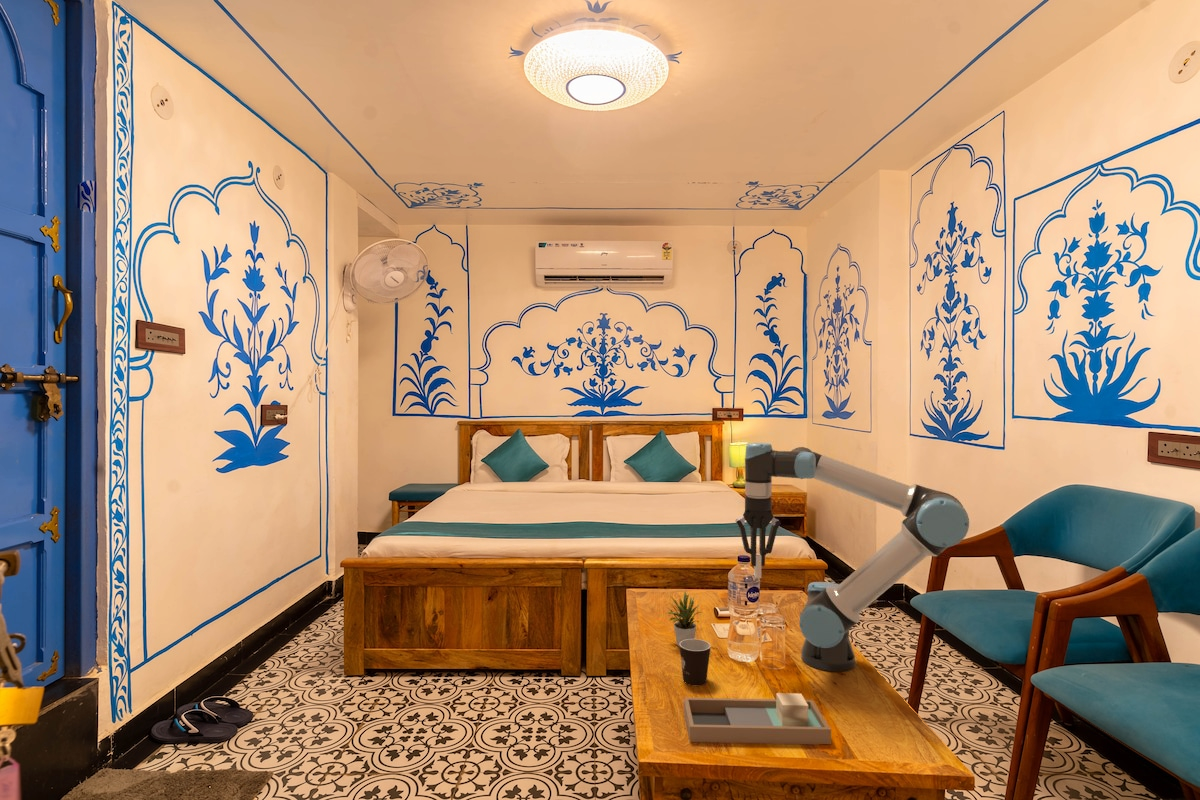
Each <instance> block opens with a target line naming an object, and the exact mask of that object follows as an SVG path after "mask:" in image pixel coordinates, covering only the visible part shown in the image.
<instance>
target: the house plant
mask: <svg viewBox="0 0 1200 800" xmlns="http://www.w3.org/2000/svg"><path fill="white" fill-rule="evenodd" d="M667 596H668V598H669V597H670V599H672V601H673V602H674V604H675V605H673V604H671V603H670V602H668V601H665V603H668V604H666V605H667V606H671V607H672V608H673V609H674V610H675V612H674V611H673V610H672V609H671V608H668V607H667V609H668V610H669V612H667V613H666V615H667V616H669V617H670V619H669V620H668V622H669V621H673V622H672V623H673V629H674V633H675V635H674V636H675V642H676V646H677V645H678V647H679V648H680V646H679V643H680V642H681V641H683V640H686V639H696V638H695V637H696V630H697V624H696V623H695V622H698V623H700V622H699V620H694V619H695V616H696V615H698V614H701V613H702V614H703V613H704V612H703V611H699V612H696V613H695V611H696V610H697V608H698V607H700V606H701V604H702V602H700V603H698V604H697V606H695V607H694V604H695V597H693V596H692V595H690V593H687V591H684V593H683V601H682V599H681V598H679V605H678V602H677V600H675V599H674V597H673V596H670V595H668V594H667ZM689 596H690V599H689ZM688 600H689V602H688ZM694 613H695V614H694ZM669 614H670V615H669ZM671 615H673V617H671Z"/></svg>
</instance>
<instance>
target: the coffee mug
mask: <svg viewBox="0 0 1200 800" xmlns="http://www.w3.org/2000/svg"><path fill="white" fill-rule="evenodd" d="M679 646H680V647H679ZM679 646H678V647H679V653H680V662H681V663H680V665H681V673H682V681H683V680H684V681H683V683H685V682H686V683H687V684H686V683H685V684H686V685H688V684H690V685H689V686H692V685H700V686H704V685H705V684H706V683H707V679H708V670H709V664H710V663H709V662H710V655H711V643H710V642H708V641H706V640H703V639H699V638H694V639H686V640H683V641H681V642H680V643H679ZM703 684H704V685H703Z"/></svg>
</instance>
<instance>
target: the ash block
mask: <svg viewBox="0 0 1200 800" xmlns="http://www.w3.org/2000/svg"><path fill="white" fill-rule="evenodd" d="M775 694H776V695H775V696H776V697H775V698H776V714H777V716H778V718H779V720H780V723H781V725H782V726H794V727H808V704H807V703H806V701H805V700H806V699H805V697H804V696H803V695H802V693H797V692H795V693H783V692H777V693H775Z"/></svg>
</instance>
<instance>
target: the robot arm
mask: <svg viewBox="0 0 1200 800" xmlns="http://www.w3.org/2000/svg"><path fill="white" fill-rule="evenodd" d="M744 457H745V458H744V466H745V467H744V469H745V470H744V472H745V479H744V481H745V482H744V483H745V484H744V488H745V489H744V495H746V496H745V497H744V512H743V514H742V516H741V517H740V518H736V519H735V522H736V523H735V524H737V526H738V529H739V532H740V536H741V541H742V546H743V550H744V551H745V553H746V554H749V555H750V564H751V567H754V568H753V571H754V572H753V576H754V577H755V579H762V567H765V566H766V555H768V554H771V553H772V551H773V549H774V548H773V547H774V544H775V539H776V535H777V531H778V528H779V527H780V526H781V524H782V521H780V520H779V519H777V518H775V517H774V514H773V511H772V509H773V508H772V500H773V499H772V497H771V496H772V494H773V493H772V491H773V490H772V488H773V487H772V485H773V484H772V482H773V481H772V480H773V479H772V478H773V477H774V478H787V479H788V478H791V479H800V480H803V479H808V480H809V479H815V480H817V481H820V482H823V483H825V484H828V485H831V486H833V487H835V488H838V489H841V490H844V491H847V492H848V493H852V494H854V495H858V496H860V497H863V498H865V499H868V500H870V501H873V502H875V503H878V504H881V505H884V506H887V507H889V508H891V509H894V510H898V511H900V512H901V514H902V516H904V517H905V518H904V519H903V520H902V521H901V530H900V531H899V532H898V533H897V534H896V535H894V536H893V537H892V538H891V539H890V540H889V541H887V542H886V543H885V544H884V545H883V546H882V547H881V548H879V549H878V550H877V551H876V552H875V553H874V554H872V555H871V556H870V557H869V558H868V559H867V560H865V561H864V563H862V564H861V565H859V567H857V568H856V569H855V570H854V571H853V572H852V573H850V575H849V576H847V577H846V578H845V579H843V581H842V582H841V583H832V582H825V581H812V582H810V583H809V584H808V585H807V589H806V590H807V591H806V592H807V601H806V603H805V605H804V608H803V609H802V610H801V613H800V615H799V630H800V632H801V634H802V635H803V637H804V638H805V640H804V642H803V645H802V648H801V655H800V656H801V660H802V661H803V662H804V664H806V665H808V666H809V667H812V668H815V669H818V670H821V671H826V672H827V671H829V672H845V671H846V672H847V671H850V670H852V669H854V668H855V666H856V656H855V652H854V648H853V646H852V643H851V639H850V630H851V629H852V628H853V627H854V626H856V625H857V624H858V623H859V622H860V614H861V612H863V611H864V610H865V609H866V608H867V607H868V606H870V605H871V604H872V603H873V602H874V601H875V600H877V599H878V598H879V597H880V596H882V595H883V594H884V593H885V592H886V591H887V590H888V589H890V588H892V586H893V585H894V584H895V583H897V582H898V581H899V580H900V579H902V578H903V577H904V576H906V574H907V573H909V572H910V571H911V570H912V569H914V568H915V567H916V566H917V565H918V564H919V563H921V562H922V561H923V560H924V559H925V558H927V557H938V556H939V555H940V554H941V553H943V552H944V551H945V550H946V549H947V548H950V547H953V546H955V545H958V544H959V543H960V542H962V541H963V540H964V539H965V538H966V536H967V534H968V532H969V528H970V518H969V514H968V512H967V510H966V508H964V505H963V504H962V502H961V501H960V500H959V499H958V498H956V497H955V496H953V495H952V494H950V493H947V492H944V491H940V490H936V489H932V488H928V487H925V486H922V485H920V484H916V483H914V484H912V485H909V484H905V483H903V482H900V481H897V480H894V479H891V478H888V477H886V476H883V475H880V474H877V473H875V472H872V471H869V470H866V469H863V468H860V467H858V466H855V465H852V464H848V463H845V462H843V461H840V460H838V459H834V458H832V457H828V456H826V455H823V454H820V453H817V452H814V451H812V450H811V449H810V448H807V447H804V446H798V447H794V449H792V450H788V451H787V450H774V449H773V445H772V444H771V443H768V442H749V443H747V444H746V446H745V456H744ZM745 522H746V523H747V525H748V526H749V527H750V545H749V540H748V537H747V531H746V528H745V525H746V523H745ZM769 524H771V526H770V530H769V533H768V538H767V543H766V532H767V528H768V526H769ZM758 529H759V530H758ZM758 531H759V538H758V539H759V545H758V546H759V548H758V549H759V550H758V551H759V553H757V532H758Z"/></svg>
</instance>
